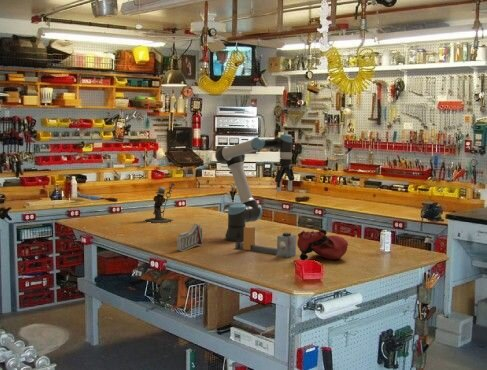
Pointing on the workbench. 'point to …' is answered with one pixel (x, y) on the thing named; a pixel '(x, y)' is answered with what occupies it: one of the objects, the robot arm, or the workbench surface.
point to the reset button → (286, 234)
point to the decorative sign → (190, 238)
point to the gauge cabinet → (286, 246)
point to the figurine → (159, 202)
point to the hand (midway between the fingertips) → (284, 191)
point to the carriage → (249, 237)
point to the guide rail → (257, 248)
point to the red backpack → (321, 244)
